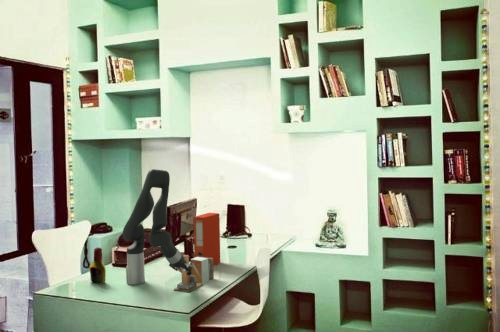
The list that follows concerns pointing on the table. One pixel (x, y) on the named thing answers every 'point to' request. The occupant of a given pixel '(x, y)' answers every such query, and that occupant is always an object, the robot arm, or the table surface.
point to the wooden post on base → (187, 278)
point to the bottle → (97, 267)
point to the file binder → (207, 236)
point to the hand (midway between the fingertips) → (187, 273)
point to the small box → (200, 269)
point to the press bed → (211, 277)
